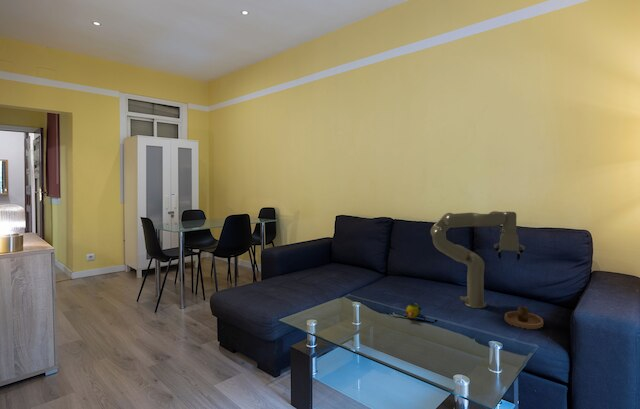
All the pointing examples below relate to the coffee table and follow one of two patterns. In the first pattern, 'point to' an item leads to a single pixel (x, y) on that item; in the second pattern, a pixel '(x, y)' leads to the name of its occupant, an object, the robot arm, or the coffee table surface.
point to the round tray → (532, 323)
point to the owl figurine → (411, 311)
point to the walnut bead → (523, 314)
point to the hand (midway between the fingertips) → (509, 259)
